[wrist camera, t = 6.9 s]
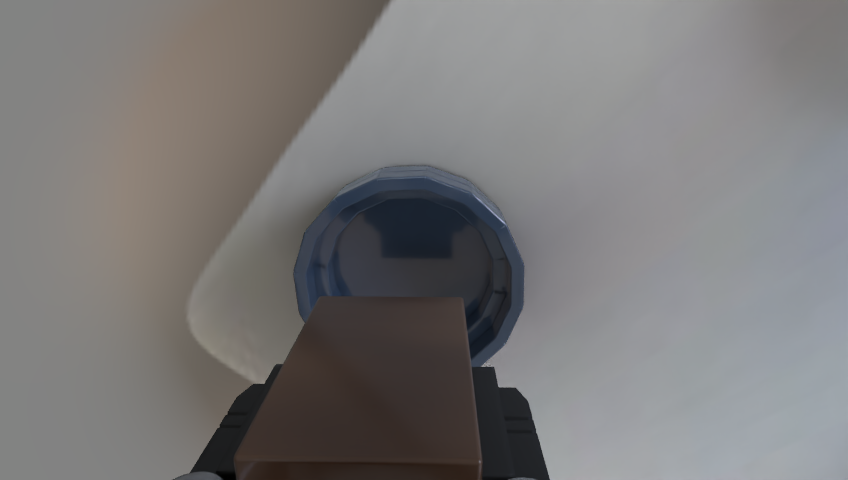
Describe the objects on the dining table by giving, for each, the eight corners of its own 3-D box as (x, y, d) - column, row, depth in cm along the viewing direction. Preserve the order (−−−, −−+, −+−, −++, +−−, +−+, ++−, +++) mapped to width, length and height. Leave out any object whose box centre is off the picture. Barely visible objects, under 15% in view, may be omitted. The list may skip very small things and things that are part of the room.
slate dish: (290, 316, 22) (270, 347, 19) (344, 132, 19) (330, 141, 16) (469, 375, 22) (473, 413, 20) (547, 206, 19) (562, 225, 17)
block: (328, 414, 15) (259, 629, 9) (318, 294, 13) (230, 457, 8) (460, 416, 14) (475, 635, 9) (463, 295, 13) (483, 461, 8)
